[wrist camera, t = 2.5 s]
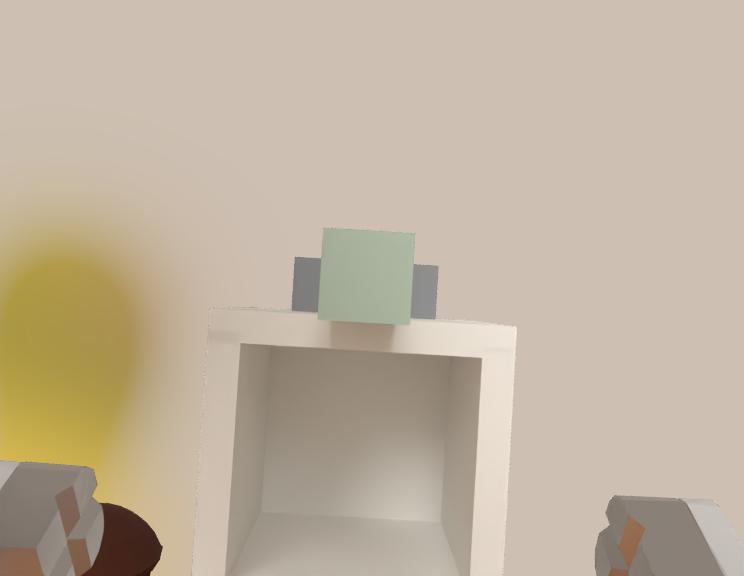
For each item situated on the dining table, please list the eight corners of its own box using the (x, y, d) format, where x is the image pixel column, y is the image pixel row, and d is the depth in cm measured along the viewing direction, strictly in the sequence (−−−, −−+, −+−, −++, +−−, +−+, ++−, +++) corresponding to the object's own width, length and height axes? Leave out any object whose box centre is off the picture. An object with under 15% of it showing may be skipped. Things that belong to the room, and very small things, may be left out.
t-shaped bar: (486, 330, 21) (491, 238, 21) (240, 314, 21) (246, 223, 21) (429, 318, 39) (432, 268, 39) (297, 310, 39) (300, 260, 39)
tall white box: (484, 910, 29) (516, 327, 30) (169, 894, 29) (209, 308, 29) (449, 732, 41) (472, 320, 42) (226, 721, 41) (254, 307, 41)
